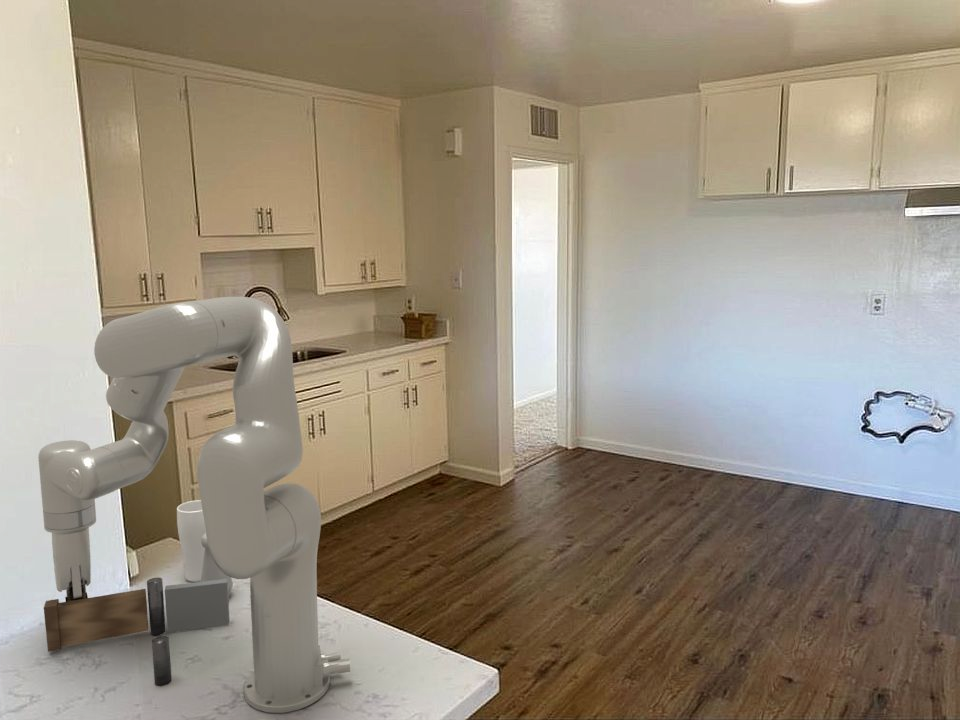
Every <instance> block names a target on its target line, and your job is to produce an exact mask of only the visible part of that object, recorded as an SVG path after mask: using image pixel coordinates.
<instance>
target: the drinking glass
mask: <svg viewBox="0 0 960 720" xmlns="http://www.w3.org/2000/svg"><path fill="white" fill-rule="evenodd" d="M176 525H177V532H178V533H177V534H178V539H179V544H180V550H181V557H182V563H183V571H184V572H183V573H184V578H185V580H186V581H187V582H190V583H194V582H201V575H202V568H203V560H204V552H205V548H204V547H203V546H202V543H201V539H202V536H203V535H204V534H205V533H206V531H205V524H204V517H203V511H202V504H201V499H197V500H196V499H195V500H191V501H186V502H182V503H181V504H179V505H178V506H177V507H176Z"/></svg>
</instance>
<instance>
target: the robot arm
mask: <svg viewBox="0 0 960 720" xmlns="http://www.w3.org/2000/svg"><path fill="white" fill-rule="evenodd" d="M292 346H293V345H292V339H291V335H290V331H289V328H288V326H287V324H286V323H285V321H284V319H283V317H282V316H281V315H280V314H279V312H278V311H276V310H275V308H274V307H272V306H271V305H269V304H268V303H266V302H264V301H262V300H260V299H256V298H254V297H248V296H222V297H214V298H213V297H212V298H207V299H199V300H198V299H197V300H191V301H181V302H177V303H171V304H167V305H162V306H159V307H157V308H152V309H149V310H146V311H142V312H138V313H135V314H132V315H127V316H123V317H118V318H116V319H113V320H111V321H109V322H108V323H107V324H106V325H104V326H103V327H102V328H101V330H100V331H99V332H98V334H97V336H96V339H95V341H94V348H93V350H94V351H93V353H94V358H95V362H96V364H97V366H98V367H99V369H100V371H102V372H103V373H104V374H105V375H107V376H108V377H110V378H111V379H112V380H111V381H110V384H109V386H108V387H107V390H106V393H105V398H106V402H107V405H108V406H109V407H110V409H111V410H113V412H114V413H115V414H117V415H119V416H120V417H122V418H125V420H129V421H132V422H131V423H130V426H129V427H128V429H127V432H126V434H125V435H124V436H123V438H122V439H120V440H116V441H113V442H111V443H107V444H105V445H101V446H98V447H96V448H92V449H91V446H90V445H89V444H88V443H87V442H84V441H81V440H61V441H55V442H51V443H49V444H45V446H43V447H42V448H40V450H39V452H38V457H37V458H38V467H39V480H40V482H39V483H40V491H41V492H40V493H41V494H40V495H41V504H42V515H43V525H44V526H43V528H44V530H45V532H47V533H50V534H51V541H52V542H51V544H52V556H53V558H52V559H53V569H54V578H55V586H56V587H55V588H56V590H57V591H58V592H60V593H62V592H63V591H66V596H65V598H64V599H65V602H67V601H73V600H79V599H85V598H89V595H88V593H87V588H86V587H88V586H90V584H91V580H92V579H91V575H92V574H91V569H92V567H91V566H92V565H91V560H92V559H91V545H90V527H92V526H93V525H95V524H96V523H97V514H96V513H97V512H96V510H97V509H96V500H95V499H99V498H100V497H103V496H106V495H109V494H111V493H114V492H116V491H117V490H120V489H122V488H125V487H127V486H130V485H133V484H135V483H137V482H140V481H142V480H144V479H146V478H147V476H148V475H149V474H151V473H152V472H153V470H154V469H155V467H156V465H157V464H158V462H159V460H160V458H161V456H162V455H163V452H164V451H165V449H166V446H167V444H168V441H169V432H170V431H169V422H168V417H167V414H166V413H165V411H164V410H165V408H166V407H167V404H168V402H169V400H170V398H171V396H172V394H173V393H174V391H175V388H176V386H177V384H178V382H179V381H180V379H181V376H182V374H183V372H184V370H185V369H186V367H190V366H195V365H199V364H203V363H208V362H213V361H217V360H221V359H224V358H227V357H232V356H233V357H234V356H235V357H237V358H238V364H237V367H236V369H235V373H234V377H233V383H232V398H233V403H234V411H235V423H234V425H232V426H230V427H227V428H224V429H222V430H219V431H217V432H216V433H214V434H213V435H211V436H210V437H209V438H208V439H207V440H206V442H205V443H204V445H203V446H202V448H201V450H200V454H199V456H198V462H197V473H196V474H197V480H198V490H199V496H200V500H201V504H202V511H203V517H204V524H205V531H206V537H207V542H208V547H209V550H210V553H211V556H212V558H213V560H214V562H215V564H216V565H217V566H218V568H219V569H220V570H221V571H222V572H223V573H224V574H226V575H227V576H229V577H231V579H236V580H247V579H249V581H250V582H249V583H250V584H249V585H250V591H249V592H250V595H249V596H250V613H251V614H250V616H251V636H252V638H251V639H252V657H253V671H252V672H251V674H249V676H248V677H247V678H246V680H245V682H244V684H243V694H244V695H243V696H244V699H245V701H246V703H248V704H249V705H250V706H251V707H252V708H254V709H256V710H258V711H262V712H266V713H276V714H277V713H280V714H281V713H290V712H293V711H297V710H301V709H304V708H306V707H308V706H310V705H312V704H314V703H315V702H317V701H319V700H320V699H321V698H323V696H324V695H325V694H326V692H327V691H328V690H329V686H330V684H331V677H330V675H334V674H343V673H350V672H351V660H350V658H343V659H341V652H335V653H330V654H325V653H321V651H322V650H321V645H319V622H318V621H319V619H318V618H319V617H318V594H317V593H318V578H317V575H318V572H317V570H318V569H317V560H318V549H319V543H320V535H321V530H322V528H321V527H322V514H321V508H320V507H321V506H320V505H319V502H318V499H317V498H316V497H315V495H314V494H313V493H312V491H311V490H309V489H308V488H306V487H305V486H303V485H300V484H298V483H290V482H289V483H288V482H287V483H281V484H277V485H274V486H272V487H269V486H271V485H273V484H275V483H276V482H279V481H280V480H282V479H284V478H285V477H287V476H289V475H290V474H292V473H293V472H294V471H296V470H297V468H298V467H299V466H300V464H301V462H302V459H303V452H304V451H303V450H304V449H303V441H302V440H303V439H302V438H303V437H302V432H301V431H302V430H301V423H300V422H301V421H300V417H299V408H298V401H297V400H298V399H297V394H296V388H295V387H296V386H295V378H294V361H293V360H294V359H293V347H292ZM267 487H269V488H268V489H266V490H264V489H265V488H267Z"/></svg>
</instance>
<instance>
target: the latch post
mask: <svg viewBox="0 0 960 720" xmlns="http://www.w3.org/2000/svg"><path fill="white" fill-rule="evenodd" d="M170 649H171V648H170V637H169V636H168V635H164V634H162V635H159V636H154V638H152V639H151V650H152V651H151V652H152V665H153V666H152V667H153V679H154V686H155V687H164V686H168V685H169V684H171V682H172V680H173V679H172V677H173V676H172V665H171V664H172V663H171V651H170Z"/></svg>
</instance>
